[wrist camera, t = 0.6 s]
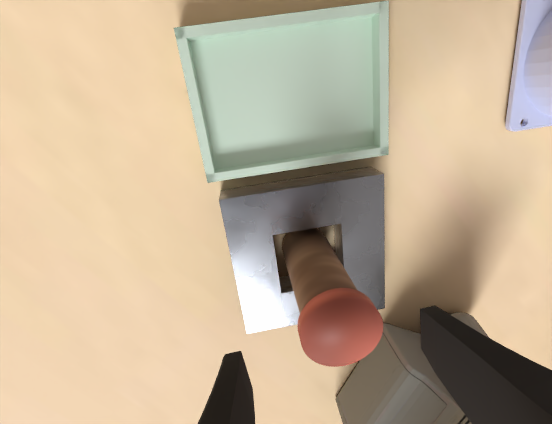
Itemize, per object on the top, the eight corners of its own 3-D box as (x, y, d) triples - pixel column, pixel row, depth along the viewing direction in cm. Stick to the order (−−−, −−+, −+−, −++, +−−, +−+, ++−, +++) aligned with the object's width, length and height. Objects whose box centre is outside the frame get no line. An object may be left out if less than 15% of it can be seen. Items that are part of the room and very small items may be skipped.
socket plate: (371, 166, 21) (384, 173, 19) (373, 291, 24) (384, 308, 22) (220, 190, 20) (219, 200, 18) (246, 314, 24) (246, 333, 22)
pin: (328, 217, 22) (383, 291, 13) (332, 264, 23) (383, 358, 15) (274, 225, 21) (296, 307, 13) (281, 273, 23) (305, 373, 15)
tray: (376, 8, 17) (388, 0, 16) (378, 150, 20) (388, 154, 19) (179, 33, 17) (173, 27, 15) (209, 176, 20) (207, 182, 18)
